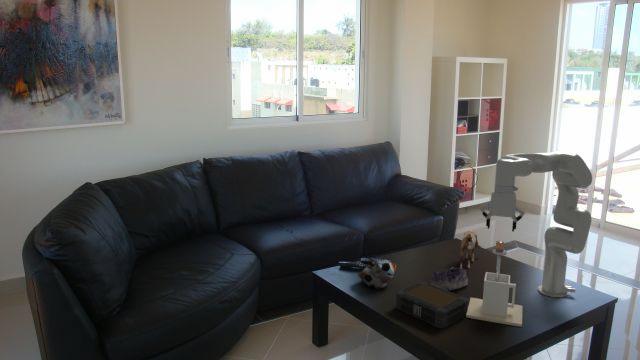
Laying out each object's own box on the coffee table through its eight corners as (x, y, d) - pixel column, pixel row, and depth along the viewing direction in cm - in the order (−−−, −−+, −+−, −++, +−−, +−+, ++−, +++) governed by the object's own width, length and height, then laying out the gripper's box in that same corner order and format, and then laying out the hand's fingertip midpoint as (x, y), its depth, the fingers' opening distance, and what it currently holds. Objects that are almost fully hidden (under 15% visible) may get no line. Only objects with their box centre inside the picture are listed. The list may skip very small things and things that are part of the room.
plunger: (506, 286, 218) (510, 240, 214) (506, 293, 211) (510, 246, 207) (487, 283, 221) (490, 238, 217) (486, 290, 214) (489, 243, 210)
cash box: (393, 308, 222) (393, 292, 221) (421, 295, 236) (422, 280, 234) (440, 330, 204) (441, 313, 202) (468, 315, 217) (470, 298, 216)
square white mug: (522, 308, 223) (525, 274, 219) (521, 326, 206) (525, 290, 203) (470, 299, 231) (472, 266, 227) (466, 317, 214) (468, 282, 211)
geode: (444, 297, 234) (442, 276, 233) (425, 291, 244) (424, 271, 243) (473, 285, 245) (471, 265, 244) (454, 280, 255) (453, 261, 254)
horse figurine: (469, 275, 258) (472, 237, 254) (454, 272, 262) (456, 234, 258) (480, 256, 285) (483, 221, 281) (467, 253, 289) (469, 219, 285)
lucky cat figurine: (373, 274, 259) (389, 250, 255) (390, 292, 251) (406, 268, 246) (352, 274, 247) (368, 249, 243) (369, 293, 239) (385, 267, 234)
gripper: (526, 189, 207) (523, 229, 211) (482, 185, 213) (479, 224, 217) (526, 193, 200) (522, 234, 204) (481, 189, 207) (478, 229, 210)
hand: (500, 229), depth 210 cm, fingers open, 9 cm apart
